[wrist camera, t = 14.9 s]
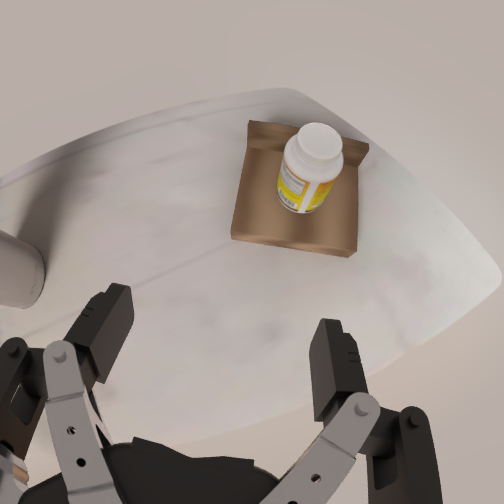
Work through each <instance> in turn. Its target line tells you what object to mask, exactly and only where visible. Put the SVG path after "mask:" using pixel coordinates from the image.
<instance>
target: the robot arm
mask: <svg viewBox="0 0 504 504" xmlns="http://www.w3.org/2000/svg"><path fill="white" fill-rule="evenodd" d="M44 276H45V269H44V262H43V259H42V256H41V254H40V253H39V251H38V250H37V249H36V248H34V247H33V246H31V245H29V244H27V243H25V242H23V241H21V240H19V239H17V238H15V237H13V236H12V235H10V234H8V233H6V232H4V231H2V230H0V304H1V305H5V306H10V307H15V308H22V309H24V308H28V307H29V306H31V305H32V304H33V303H34V302H35V301H36V300H37V298H38V297H39V295H40V293H41V290H42V287H43V283H44ZM133 321H134V308H133V302H132V295H131V289H130V287H129V286H126V285H122V284H117V283H112V284H111V285H110V286H109V288H108V289H107V291H106V292H105V293H103V292H100V293H98V294H97V295H95V296H94V297H92V298H91V299H90V301H89V302H88V304H87V305H86V306H85V308H84V309H83V311H82V312H81V315H79V317H78V318H77V319H76V321H75V322H74V324H73V325H72V327H71V328H70V330H69V331H68V333H67V335H66V336H65V338H64V339H63V340H59V341H55V342H52V343H51V344H49V345H48V346H47V347H46V349H42V348H29V347H28V346H27V344H26V342H25V341H24V340H23V339H22V338H19V337H14V338H10V339H8V340H7V341H6V342H5V343H4V344H3V345H2V346H1V348H0V504H326V503H327V501H328V500H329V499H330V498H331V496H332V495H333V494H334V492H335V491H336V490H337V488H338V487H339V485H340V484H341V483H342V481H343V480H344V478H345V477H346V476H347V474H348V473H349V471H350V470H351V468H352V467H353V465H354V464H355V461H356V458H355V456H356V454H357V453H361V454H365V455H366V460H367V476H368V502H369V504H443V501H442V492H441V485H440V478H439V471H438V465H437V459H436V454H435V448H434V443H433V439H432V434H431V430H430V425H429V421H428V418H427V416H426V414H425V413H424V412H423V411H422V410H421V409H420V408H417V407H414V406H409V407H406V408H404V409H403V410H402V411H401V412H397V411H393V410H389V409H385V408H383V407H380V406H379V403H378V402H377V400H376V399H375V398H374V397H373V396H371V395H369V393H368V389H367V385H366V380H365V376H364V371H363V367H362V363H361V359H360V355H359V351H358V347H357V343H356V341H355V340H354V339H353V337H352V336H351V335H350V333H343V329H342V325H341V322H340V320H334V319H325V318H322V319H321V320H320V322H319V325H318V327H317V330H316V332H315V335H314V337H313V339H312V342H311V345H310V350H309V359H310V370H311V381H312V394H313V406H314V421H318V422H323V425H324V429H323V430H322V431H321V432H320V434H319V435H318V436H317V437H316V439H315V440H314V441H313V442H312V444H311V445H310V446H309V447H308V448H307V450H306V451H305V452H304V453H303V454H302V455H301V457H300V458H299V459H298V460H297V461H296V462H295V463H294V464H293V466H291V468H290V469H289V470H288V471H287V472H286V473H285V474H284V475H283V476H282V477H281V478H280V479H277V478H276V477H275V476H274V475H272V474H271V473H269V472H267V471H266V470H263V469H261V468H259V467H256V466H254V460H253V459H243V458H242V459H241V458H233V457H225V456H220V457H204V458H191V457H188V456H186V455H183V454H181V453H179V452H176V451H175V450H173V449H171V448H169V447H166V446H164V445H162V444H159V443H155V442H151V441H148V440H144V439H141V438H137V437H134V438H133V441H132V443H129V442H128V443H118V444H114V443H113V441H112V438H111V436H110V434H109V432H108V430H107V428H106V426H105V423H104V420H103V418H102V415H101V412H100V409H99V406H98V402H97V399H96V396H95V393H94V390H93V386H94V384H95V382H96V381H97V382H100V383H103V384H105V381H106V379H107V377H108V375H109V373H110V371H111V368H112V366H113V364H114V362H115V360H116V358H117V356H118V354H119V351H120V349H121V347H122V345H123V343H124V341H125V339H126V337H127V335H128V333H129V331H130V329H131V327H132V325H133ZM18 386H19V387H18ZM17 388H18V389H17ZM16 390H17V391H16ZM15 392H16V394H15ZM14 394H15V396H14ZM13 396H14V398H13ZM12 398H13V400H12ZM48 398H49V400H48ZM11 400H12V402H11ZM44 407H45V409H46V414H47V419H48V424H49V428H50V433H51V437H52V441H53V445H54V448H55V452H56V456H57V459H58V462H59V466H60V469H61V473H59V474H57V475H55V476H53V477H51V478H49V479H47V480H45V481H43V482H41V483H39V484H37V485H35V486H33V487H31V488H28V485H27V482H28V481H29V475H28V471H27V467H26V465H25V463H24V460H25V457H26V454H27V451H28V448H29V445H30V442H31V440H32V437H33V434H34V432H35V429H36V426H37V424H38V421H39V419H40V416H41V414H42V411H43V409H44Z"/></svg>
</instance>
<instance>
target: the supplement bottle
mask: <svg viewBox="0 0 504 504" xmlns="http://www.w3.org/2000/svg"><path fill="white" fill-rule="evenodd" d="M342 146H343V144H342V139H341V137H340V135H339V134H338V133H337V131H336V130H334V129H333V128H332V127H330V126H328V125H326V124H323V123H317V122H313V123H308V124H306V125H304V126H303V127H301V129H300V130H299V132H298V134H296V135H294V136H293V137H291V138H290V139H289V141H288V142H287V144H286V146H285V149H284V154H283V159H282V164H281V168H280V173H279V178H278V182H277V195H278V198H279V200H280V201H281V203H282V204H283V205H284V206H285V207H286V208H288V209H289V210H291V211H293V212H296V213H309V212H312V211H314V210H316V209H317V208H319V207H320V206H321V204H322V203H323V201H324V199H325V198H326V196H327V194H328V193H329V191H330V189H331V187H332V186H333V184H334V182H335V180H336V179H337V177H338V175H339V173H340V172H341V170H342V167H343V154H342V151H341V150H342Z"/></svg>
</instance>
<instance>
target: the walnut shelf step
mask: <svg viewBox="0 0 504 504" xmlns="http://www.w3.org/2000/svg"><path fill="white" fill-rule="evenodd" d="M300 129H301V128H297V127H292V126H286V125H280V124H273V123H267V122H260V121H252V120H249V123H248V134H247V150H246V155H245V160H244V164H243V169H242V174H241V179H240V184H239V189H238V195H237V200H236V205H235V210H234V215H233V220H232V226H231V239H234V240H240V241H247V242H253V243H259V244H266V245H272V246H278V247H285V248H291V249H297V250H303V251H309V252H316V253H322V254H328V255H334V256H340V257H346V258H348V257H349V256H351V255H352V254H354V253H355V252H356V251H357V232H358V166H359V165H360V163H361V162H362V160H363V159H364V157H365V156H366V154H367V153H368V151H369V144H368V143H365V142H361V141H357V140H353V139H349V138H345V137H341V139H342V144H343V146H342V150H341V151H342V154H343V167H342V170H341V172H340V173H339V175H338V177H337V179H336V180H335V182H334V184H333V186H332V187H331V189H330V191H329V193H328V194H327V196H326V198H325V199H324V201H323V203H322V204H321V206H320V207H319V208H317V209H316V210H314V211H312V212H309V213H296V212H293V211H291V210H289V209H288V208H286V207H285V206H284V205H283V204H282V203H281V201H280V200H279V198H278V195H277V182H278V178H279V173H280V168H281V164H282V159H283V154H284V149H285V146H286V144H287V142H288V141H289V139H290V138H291V137H293V136H294V135H296V134H298V132H299V130H300Z"/></svg>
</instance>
